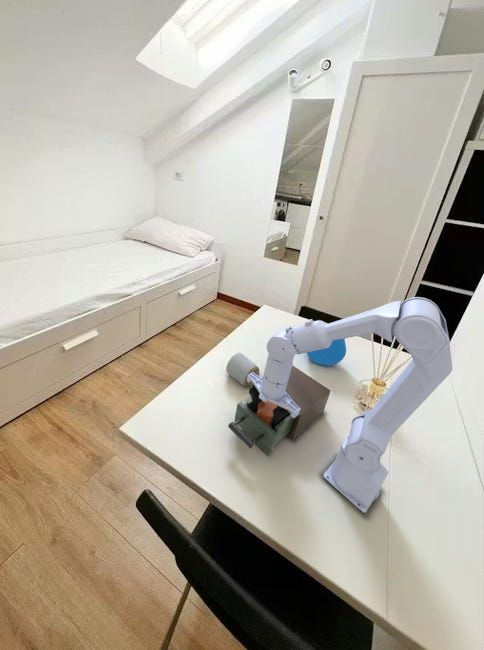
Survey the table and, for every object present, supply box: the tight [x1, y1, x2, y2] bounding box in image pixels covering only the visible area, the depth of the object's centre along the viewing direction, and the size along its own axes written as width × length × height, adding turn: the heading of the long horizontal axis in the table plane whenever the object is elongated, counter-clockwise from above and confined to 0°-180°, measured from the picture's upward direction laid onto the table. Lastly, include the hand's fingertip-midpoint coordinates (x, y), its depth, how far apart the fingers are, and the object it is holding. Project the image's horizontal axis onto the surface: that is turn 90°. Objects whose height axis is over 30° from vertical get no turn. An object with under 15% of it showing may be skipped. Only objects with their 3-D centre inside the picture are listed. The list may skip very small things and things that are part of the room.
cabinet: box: [286, 365, 332, 440], centre depth 81 cm, size 15×13×8 cm
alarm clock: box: [306, 338, 347, 366], centre depth 102 cm, size 13×6×15 cm, turn 71°
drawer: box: [228, 398, 296, 456], centre depth 73 cm, size 19×12×6 cm, turn 131°
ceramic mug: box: [225, 352, 260, 387], centre depth 92 cm, size 11×8×8 cm
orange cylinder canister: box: [256, 401, 277, 429], centre depth 73 cm, size 5×5×5 cm
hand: (265, 418), depth 73 cm, fingers closed on orange cylinder canister, 5 cm apart
